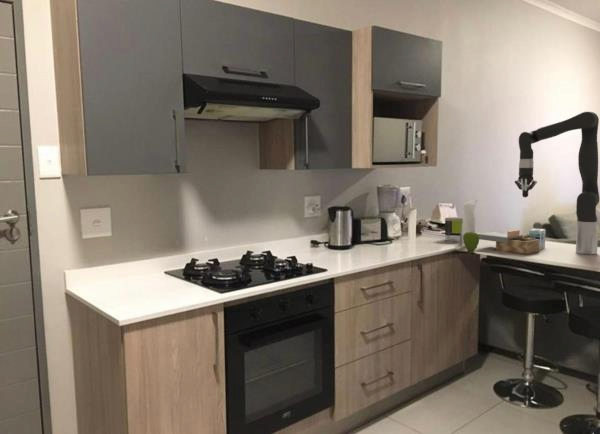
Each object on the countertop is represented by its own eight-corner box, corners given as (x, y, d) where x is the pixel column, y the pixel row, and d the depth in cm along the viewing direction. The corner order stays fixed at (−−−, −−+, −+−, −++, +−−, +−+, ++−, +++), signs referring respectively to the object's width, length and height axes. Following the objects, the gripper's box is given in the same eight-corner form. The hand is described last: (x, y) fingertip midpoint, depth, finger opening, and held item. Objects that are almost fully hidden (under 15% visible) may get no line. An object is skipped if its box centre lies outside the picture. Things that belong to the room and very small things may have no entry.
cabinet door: (522, 240, 286) (522, 229, 286) (507, 242, 278) (507, 232, 277) (492, 236, 302) (492, 226, 301) (477, 239, 293) (477, 228, 292)
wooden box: (539, 252, 278) (539, 239, 277) (526, 254, 270) (526, 241, 270) (508, 248, 292) (509, 236, 292) (495, 250, 285) (496, 238, 284)
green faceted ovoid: (482, 251, 281) (482, 231, 280) (471, 253, 277) (472, 232, 276) (470, 249, 289) (470, 229, 288) (459, 251, 285) (459, 230, 283)
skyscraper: (473, 245, 304) (474, 199, 301) (476, 247, 296) (478, 200, 293) (459, 245, 305) (460, 199, 302) (462, 247, 297) (463, 200, 294)
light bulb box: (541, 250, 285) (541, 231, 284) (528, 248, 289) (528, 230, 288) (545, 247, 293) (546, 228, 292) (532, 246, 298) (533, 228, 296)
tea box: (472, 240, 324) (473, 217, 323) (468, 242, 316) (469, 218, 314) (448, 238, 332) (449, 216, 331) (444, 240, 324) (444, 217, 322)
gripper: (540, 166, 288) (539, 197, 290) (519, 167, 298) (518, 196, 300) (533, 167, 283) (532, 198, 285) (511, 167, 294) (510, 197, 296)
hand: (525, 197), depth 293 cm, fingers closed
